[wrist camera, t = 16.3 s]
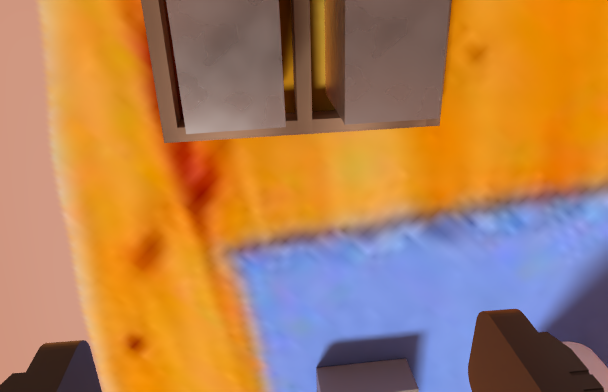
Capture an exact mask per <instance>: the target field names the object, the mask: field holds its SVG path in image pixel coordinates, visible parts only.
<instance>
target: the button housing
mask: <svg viewBox="0 0 608 392" xmlns="http://www.w3.org/2000/svg"><path fill="white" fill-rule="evenodd" d="M316 373H317V392H418V390H419V389H418V386H417V384H416V382H415V379H414V377H413V374H412V372H411V369H410V367H409V364H408V362H407V360H406V358H405V359H395V360H386V361H377V362H367V363H358V364H348V365H339V366H330V367H320V368H316Z"/></svg>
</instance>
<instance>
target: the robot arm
mask: <svg viewBox="0 0 608 392" xmlns="http://www.w3.org/2000/svg"><path fill="white" fill-rule="evenodd" d="M468 375H469V382H470V386H471V390H472V392H604V387H603V386H602V385H601V384H600V383H599V381H598V380H597V379H596V378H595V377H594V376H593V374H590V373H589V370H588V368H587V367H586V366H585V365H584V364H583V362H582V361H581V360H580V359H579V358H578V356H577V355H576V354H575V353H574V352H573V350H572V349H571V348H569V347H568V346H566V345H565V344H563V343H562V342H561V341H559V340H558V339H556V338H555V337H553V336H552V335H551V334H549V333H548V332H540V333H538V332H537V330H536V329H535V328H534V327H533V325H532V324H531V323H530V322H529V320H528V319H527V318H526V316H525V315H524V314H523V313H522V312H521V311H520V310H518V309H507V310H494V311H482V312H480V313H479V315H478V317H477V320H476V326H475V331H474V337H473V342H472V348H471V353H470V359H469V365H468ZM0 392H102V391H101V387H100V383H99V379H98V376H97V372H96V368H95V364H94V361H93V357H92V353H91V349H90V346H89V344H88V343H87V342H86V341H84V340H82V341H70V342H56V343H45V344H43V345H42V346H41V347H40V348H39V350H38V352H37V353H36V355H35V357H34V359H33V361H32V362H31V364H30V366H29V368H28V369H27V371H26V373H14V374H12V375H11V376H9V377H8V378H7V379H6V380H5V381H4V382H3V383H2V384H1V385H0Z"/></svg>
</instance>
